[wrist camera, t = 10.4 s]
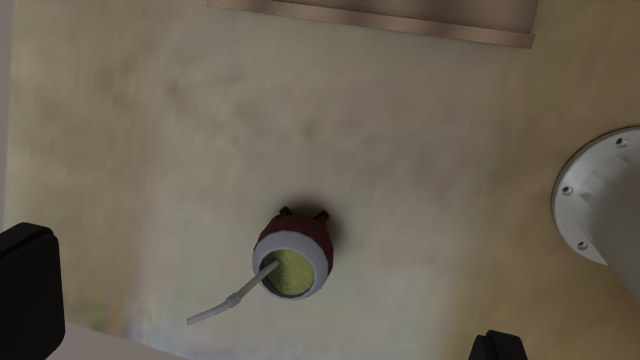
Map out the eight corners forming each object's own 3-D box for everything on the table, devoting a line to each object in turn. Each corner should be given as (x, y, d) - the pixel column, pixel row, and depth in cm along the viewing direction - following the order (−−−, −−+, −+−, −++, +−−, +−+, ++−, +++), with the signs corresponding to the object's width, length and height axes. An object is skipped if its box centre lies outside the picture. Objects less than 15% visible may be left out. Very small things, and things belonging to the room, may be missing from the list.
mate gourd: (354, 235, 45) (335, 339, 31) (297, 277, 48) (256, 390, 34) (302, 180, 44) (258, 262, 30) (246, 227, 46) (182, 322, 33)
